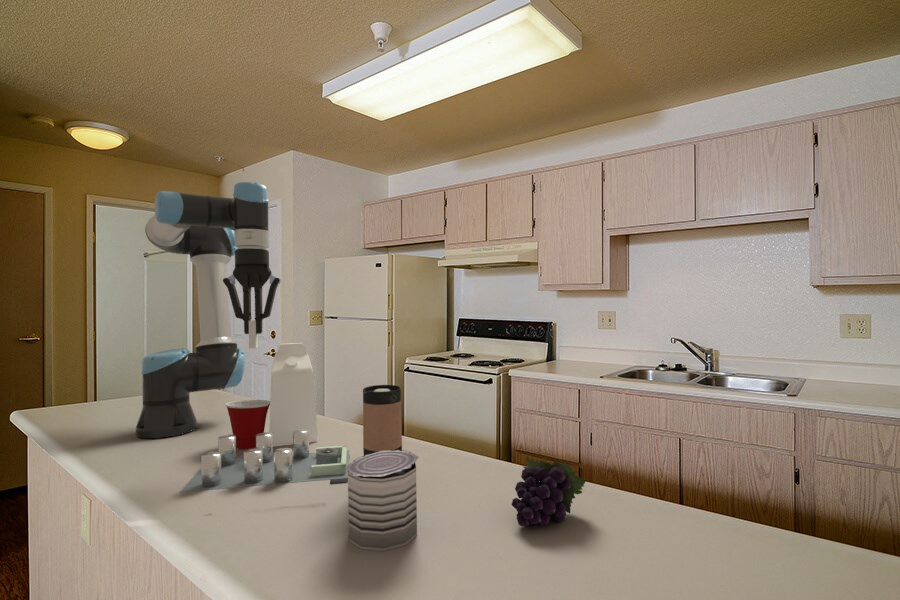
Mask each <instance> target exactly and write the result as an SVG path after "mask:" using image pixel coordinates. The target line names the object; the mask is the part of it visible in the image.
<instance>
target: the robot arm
mask: <svg viewBox="0 0 900 600" xmlns="http://www.w3.org/2000/svg"><path fill="white" fill-rule="evenodd" d="M232 196H233V198H232V197H230V198H229V197H223V196H222V197H221V196H215V195H214V196H212V195H205V194H204V195H202V194H196V193H194V194H193V193H184V192H177V191H173V190H172V191H163V190H161V191H158V192H156V194H155V199H154V215H153V216H151V217H150V218H149V220H147V223H146V225H145V228H144V229H145V231H144V232H145V236H146V238H147V240H148V241H149V242H150V243H151V244H152V245H153V246H154V247H156V248H158V249H160V250H162V251H164V252H167V253H171V254H177V255H189V260H190V262H191V263H192V264H193V265H194V266H195V267H196V283H197V285H196V286H197V301H198V305H197V306H198V316H199V317H198V320H199V333H200V334H199V335H200V340H199V341H198V343H197V345H196V346H195V347H194V348H195V352H190V350H189V349H188V348H187V347H186V348H185V347H184V348H174V349H168V350H163V351H157V352H154V353H153V352H152V353H150V354H148V355H146V356H144V357H143V359H142V362H141V364H142V368H141V375H142V408H141V412H140V415H139V417H138V421H137V422H136V423H137V424H136V426H135V427H136V428H135V436H136V437H137V438H139V437H140V439H145V438H155V439H163V438H162V437H166V438H169V437H168V436H172V437H175V436H174V435H177V436H180V435H179V434H182V433H185V434H187V433H186V432H188V433H190V432H189V431H191V430H193V429H195V428H196V427H197V424H198V423H197V421H198V420H197V418H196V415H195V412H194V410H193V407H192V405H191V402H190V393H194V392H195V393H197V392H204V391H212V390H225V389H229V388H235V387H236V386H238V385H240V383H241V381H242V380H243V379H242V378H243V377H244V372H245V363H246V362H245V360H246V359H245V358H246V357H245V352H244V350H243V349H242V348H238V342H236V341H235V340H234V339H233V338H232V329H231V315H230V301H231V305H232V309H233V312H234V315H235V318H237V319H241V320H242V321H243V332H244V334H245V335H248V349H257V348H258V347H259V335H262V333H263V320H264V319H267V318H269V317H271V313H272V309H273V306H274V302H275V296H276V292H277V288H278V287H279V285H280V283H281V282H282V279H281V278H280V277H277V276H275V275H273V274H272V271H271V268H270V251H269V250H268V248H269V247H270V245H269V243H270V240H269V236H270V234H269V232H270V231H269V201H270V200H269V194H268V188H267V187H266V185H264V184H262V183H258V182H251V181H242V182H241V181H240V182H237V183H235V184H234V185H233V193H232ZM233 256H234V268H233V269H234V270H233V271H232V274H231V275H229V276H228V273H227V265H228V264H229V263H230V261H231V260H232V257H233ZM231 262H232V261H231ZM236 280H237V282H238V283H239V285H240V286H241V287H242V299H243V300H242V304H243V305H242V306H241V302H240V299H239V294H238V291H237V288H236V286H235V285H236ZM268 280H269V284H270V285H269V289H268V293H267V297H266V301H265V306H264V310H263V287H264V285H266V283H268ZM252 288H253V291H254V319H252V318H253V317H252ZM229 298H230V301H229ZM242 307H243V309H242ZM197 428H198V427H197ZM197 428H196V429H197ZM196 429H195V430H196ZM193 431H194V430H193ZM191 432H192V431H191ZM182 435H183V434H182Z"/></svg>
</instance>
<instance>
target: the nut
mask: <svg viewBox="0 0 900 600" xmlns="http://www.w3.org/2000/svg"><path fill="white" fill-rule="evenodd" d="M315 453H316V452H315ZM335 463H338V449H335V448H325V449H321V450H317V453H316V465H322V464H335Z"/></svg>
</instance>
